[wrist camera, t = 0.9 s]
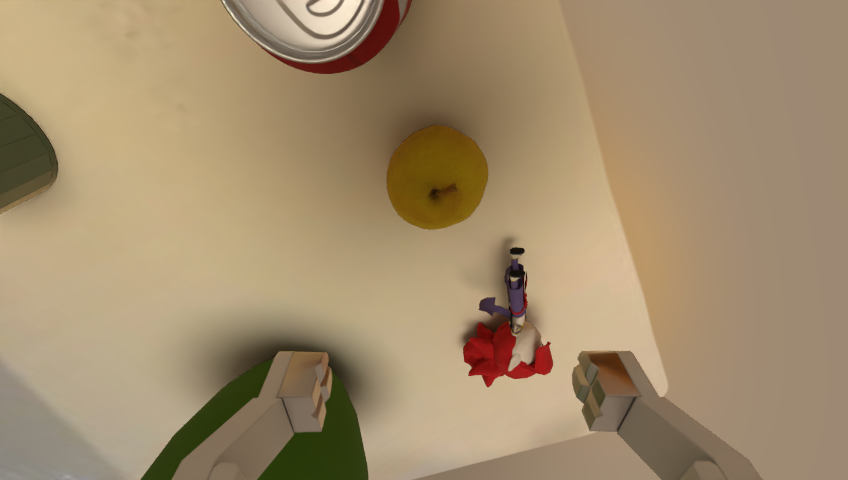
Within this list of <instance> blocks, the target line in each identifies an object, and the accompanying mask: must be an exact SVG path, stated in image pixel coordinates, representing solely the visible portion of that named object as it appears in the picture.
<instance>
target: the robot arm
mask: <svg viewBox="0 0 848 480" xmlns="http://www.w3.org/2000/svg"><path fill="white" fill-rule="evenodd" d="M328 361H329V358H328V354H327V352H289V351H279V352H278V353H277V355H276V356H275V358H274V360H273V363H272V365H271V368H270V370H269V372H268V375H267V377H266V380H265V382H264V385H263V387H262V389H261V392H260V394H259V397H258V398H253V399H252V400H250V401H249V402H248V403H247V404H246V405H245V406H244V407H242V408H241V409H240V410H239V411H238V412H237V413H236V414H234V415H233V416H232V417H231V418H230V419H229V420H228V421H226V422H225V423H224V424H223V425H222V426H221V427H220V428H218V429H217V430H216V431H215V432H214V433H213V434H212V435H210V436H209V437H208V438H207V439H206V440H205V441H204V442H202V443H201V444H200V445H199V446H198V447H197V448H196V449H194V450H193V451H192V452H191V453H190V454H189V455H188V456H186V457H185V458H184V459H183V460H182V461H181V463H180V465H179V467H178V468H177V470H176V472H175V474H174V476H173V478H172V480H257V479H258V478H259V477H260V475H261V474H262V473H263V472H264V471H265V469H266V468H267V467H268V466H269V464H270V463H271V462H272V461H273V460H274V458H275V457H276V456H277V455H278V453H279V452H280V451H281V450H282V449H283V447H284V446H285V445H286V444H287V442H288V441H289V440H290V439H291V438H292V436H293V435H294V433H299V432H322V428H323V423H324V419H325V415H326V408H325V402H326V401H327V400H328V399H329V398H330V393H331V387H332V371H331V368H330V367H329V366H327V365H328ZM578 361H579V363H580V364H579V365H577V366H576V367H574V370H573V373H572V384H573V389H574V392H575V395H576V397H577V398H578V399H579V400H580V401H581V402H582V403H584V405H583V408H582V413H583V415H584V418H585V420H586V423H587V425H588V428H589V430H590V431H609V432H610V431H611V432H617V434H618V435H619V436H620V437H621V438H622V439H623V440H624V441H625V442H626V443H627V444H628V445H629V446H630V447H631V448H632V449H633V450H634V451H635V452H636V453H637V454H638V456H640V458H641V459H642V460H643V461H644V462H645V463H646V464H647V465H648V466H649V467H650V468H651V469H652V470H653V471H654V472H655V473H656V474H657V475H658V476H659V477H660V478H661V479H662V480H762V478H761V477H760V475H759V474H758V472H757V471H756V469H755V468H754V467H753V465H752V464H751V462H750V461H749V460H748V459H747V458H746V457H744V456H743V455H742V454H740V453H739V452H738V451H736V450H735V449H733V448H732V447H731V446H729V445H728V444H727V443H725V442H724V441H723V440H721V439H720V438H719V437H717V436H716V435H715V434H713V433H712V432H711V431H709V430H708V429H707V428H705V427H704V426H702V425H701V424H700V423H698V422H697V421H696V420H694V419H693V418H691V417H690V416H689V415H688V414H686V413H685V412H684V411H682V410H681V409H680V408H678V407H677V406H676V405H674V404H673V403H671V402H670V401H669V400H667V399H666V398H665V397H659V396H658V394H657V392H656V391H655V389H654V387H653V386H652V384H651V382H650V381H649V379H648V377H647V376H646V374H645V372H644V371H643V369H642V367H641V366H640V364H639V362H638V361H637V359H636V358H635V356H634V354H633V353H632V352H630V351H582V352H581V353H580V354H579V356H578Z"/></svg>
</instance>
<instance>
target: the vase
mask: <svg viewBox="0 0 848 480" xmlns="http://www.w3.org/2000/svg"><path fill="white" fill-rule="evenodd" d="M273 360H274V358H272V359H270V360H267V361H265V362H263V363H260V364H258V365H256V366H254V367H253V368H251V369H250V370H248V371H247V372H245V373H244V374H242V375H241V376H239V377H238V378H236V379H235V380H233V381H232V382H230V383H229V384H227V385H226V386H225V387H224V388H222V389H221V390H220V391H219V392H218V393H217V394H216V395H215V396H214V397H213V398H212V399H211V400H210V401H209V402H208V403H207V404H206V405H205V406H204V407H202V408H201V409H200V410H199V411H198V412H197V413H196V414H195V415H194V416H193V417H192V418H191V419H190V420H189V421H188V422H187V423H186V424H185V425H184V426H183V427H182V428H181V429H180V430H179V431H178V432H177V433H176V434H175V435H174V436H173V437H172V439H171V440H170V441H169V443H168V444H167V445H166V447H165V448H164V449H163V451H162V452H161V453H160V455H159V456H158V457H157V458H156V460H155V461H154V462H153V464H152V465H151V466H150V468H149V469H148V470H147V472H146V473H145V474H144V476H143V477H142V478H141V480H172V478H173V476H174V474H175V472H176V470H177V468H178V467H179V465H180V463H181V461H182V460H183V459H184V458H185V457H186V456H188V455H189V454H190V453H191V452H192V451H193V450H194V449H196V448H197V447H198V446H199V445H200V444H201V443H202V442H204V441H205V440H206V439H207V438H208V437H209V436H210V435H212V434H213V433H214V432H215V431H216V430H217V429H218V428H220V427H221V426H222V425H223V424H224V423H225V422H226V421H228V420H229V419H230V418H231V417H232V416H233V415H234V414H236V413H237V412H238V411H239V410H240V409H241V408H242V407H244V406H245V405H246V404H247V403H248V402H249V401H250V400H252V399H253V398H258V397H259V394H260V392H261V389H262V387H263V385H264V382H265V380H266V377H267V375H268V372H269V370H270V368H271V365H272V363H273ZM331 371H332V387H331V393H330V398H329V399H328V400H327V401H326V402H325V408H326V415H325V419H324V423H323V428H322V432H299V433H294V435H293V436H292V438H291V439H290V440H289V441H288V442H287V444H286V445H285V446H284V447H283V449H282V450H281V451H280V452H279V453H278V455H277V456H276V457H275V458H274V460H273V461H272V462H271V463H270V464H269V466H268V467H267V468H266V469H265V471H264V472H263V473H262V474H261V475H260V477H259V478H258V479H257V480H368V468H367V462H366V457H365V452H364V447H363V442H362V437H361V432H360V427H359V423H358V418H357V414H356V411H355V409H354V407H353V405H352V402H351V400H350V398H349V396H348V393H347V391H346V389H345V387H344V385H343V383H342V382H341V380H340V379H339V378H338V376H337V375H336V374H335V372H334V371H333V370H332V369H331Z"/></svg>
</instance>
